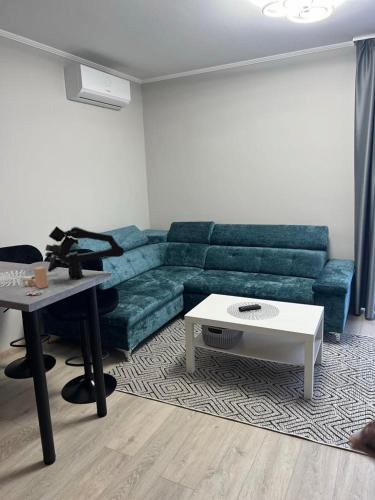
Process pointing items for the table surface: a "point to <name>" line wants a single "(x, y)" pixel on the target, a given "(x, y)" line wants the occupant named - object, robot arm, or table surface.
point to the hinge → (30, 268)
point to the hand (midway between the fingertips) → (48, 271)
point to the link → (39, 277)
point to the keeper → (22, 281)
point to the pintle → (32, 284)
